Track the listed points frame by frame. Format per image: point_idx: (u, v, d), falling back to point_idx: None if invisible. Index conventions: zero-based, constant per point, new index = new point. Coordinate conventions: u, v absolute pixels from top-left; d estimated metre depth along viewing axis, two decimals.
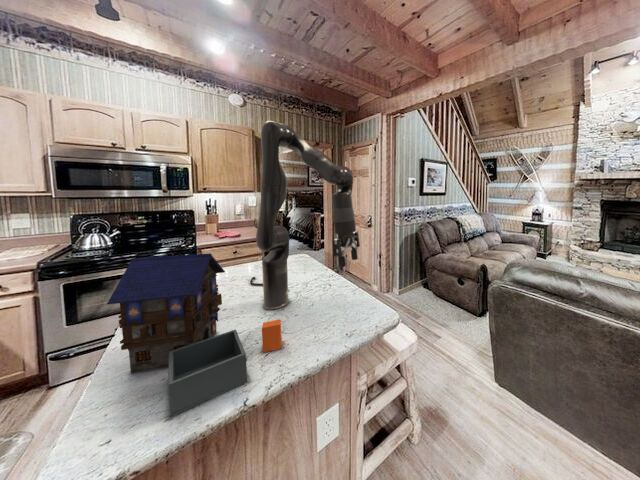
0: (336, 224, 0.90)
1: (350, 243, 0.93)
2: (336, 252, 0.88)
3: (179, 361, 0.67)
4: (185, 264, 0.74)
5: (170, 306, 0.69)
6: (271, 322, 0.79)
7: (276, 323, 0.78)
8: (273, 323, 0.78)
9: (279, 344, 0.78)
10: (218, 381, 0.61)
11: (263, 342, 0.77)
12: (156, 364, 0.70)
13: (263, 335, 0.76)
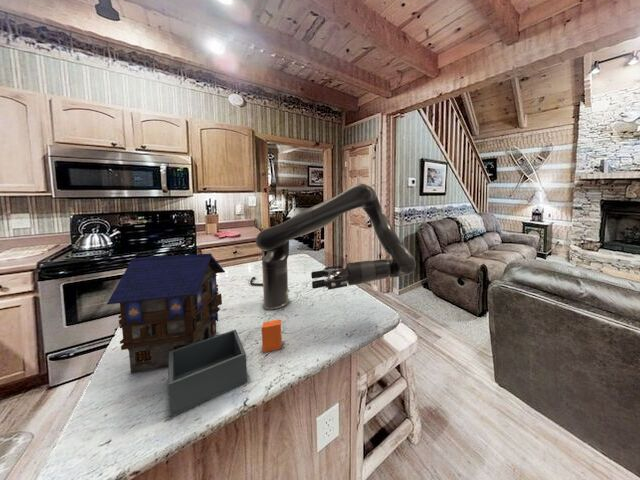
0: (359, 273, 0.84)
1: None
2: None
3: (179, 361, 0.67)
4: (185, 264, 0.74)
5: (170, 306, 0.69)
6: (271, 322, 0.79)
7: (276, 323, 0.78)
8: (273, 323, 0.78)
9: (279, 344, 0.78)
10: (218, 381, 0.61)
11: (263, 342, 0.77)
12: (156, 364, 0.70)
13: (263, 335, 0.76)
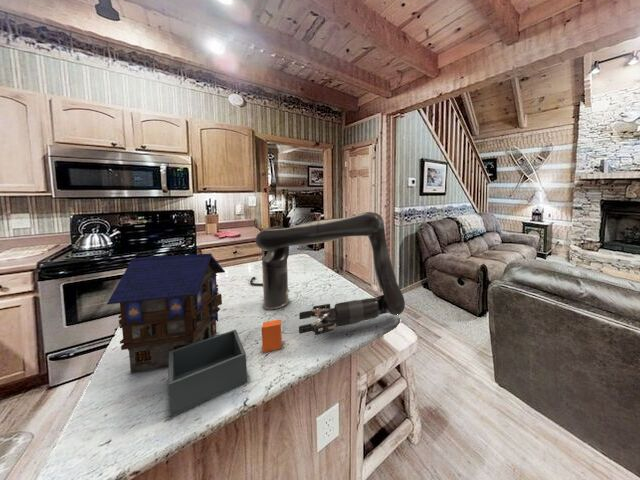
0: (347, 315, 0.84)
1: None
2: None
3: (179, 361, 0.67)
4: (185, 264, 0.74)
5: (170, 306, 0.69)
6: (271, 322, 0.79)
7: (276, 323, 0.78)
8: (273, 323, 0.78)
9: (279, 344, 0.78)
10: (218, 381, 0.61)
11: (263, 342, 0.77)
12: (156, 364, 0.70)
13: (263, 335, 0.76)
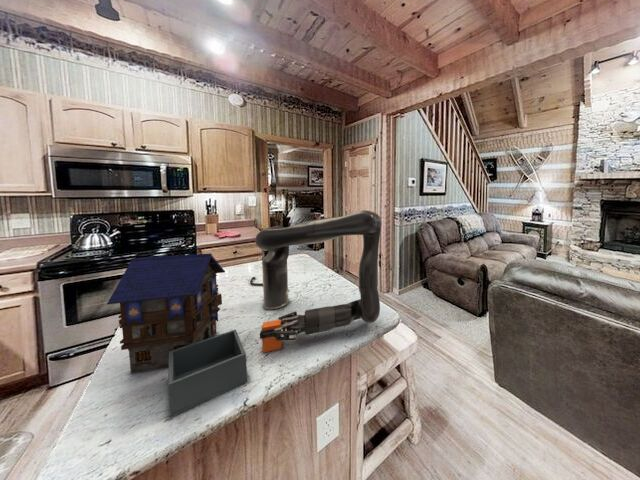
0: (317, 322, 0.80)
1: None
2: None
3: (179, 361, 0.67)
4: (185, 264, 0.74)
5: (170, 306, 0.69)
6: (271, 322, 0.79)
7: (276, 323, 0.78)
8: (273, 323, 0.78)
9: (279, 344, 0.78)
10: (218, 381, 0.61)
11: (263, 342, 0.77)
12: (156, 364, 0.70)
13: None
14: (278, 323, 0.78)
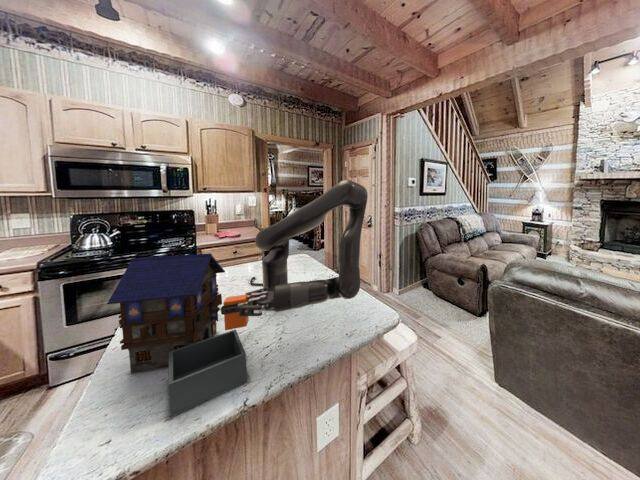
0: (287, 297, 0.72)
1: None
2: None
3: (179, 361, 0.67)
4: (185, 264, 0.74)
5: (170, 306, 0.69)
6: (235, 297, 0.70)
7: (241, 298, 0.70)
8: (238, 298, 0.70)
9: (244, 321, 0.70)
10: (218, 381, 0.61)
11: (225, 318, 0.68)
12: (156, 364, 0.70)
13: None
14: (243, 298, 0.70)
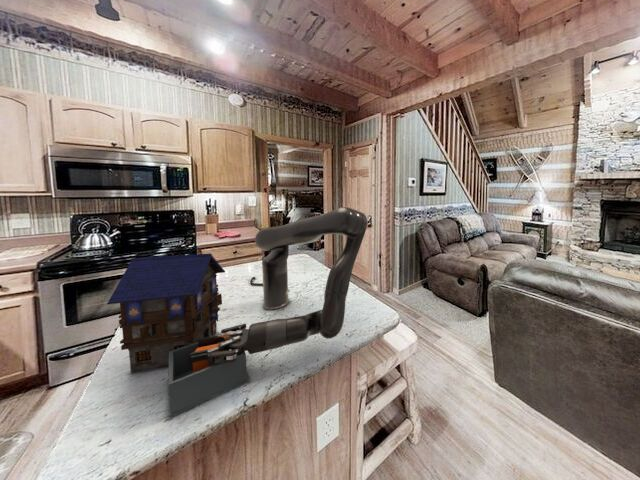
0: (262, 339, 0.67)
1: None
2: None
3: (179, 361, 0.67)
4: (185, 264, 0.74)
5: (170, 306, 0.69)
6: (206, 347, 0.66)
7: None
8: (208, 349, 0.65)
9: None
10: (218, 381, 0.61)
11: (194, 372, 0.63)
12: (156, 364, 0.70)
13: (194, 364, 0.63)
14: None
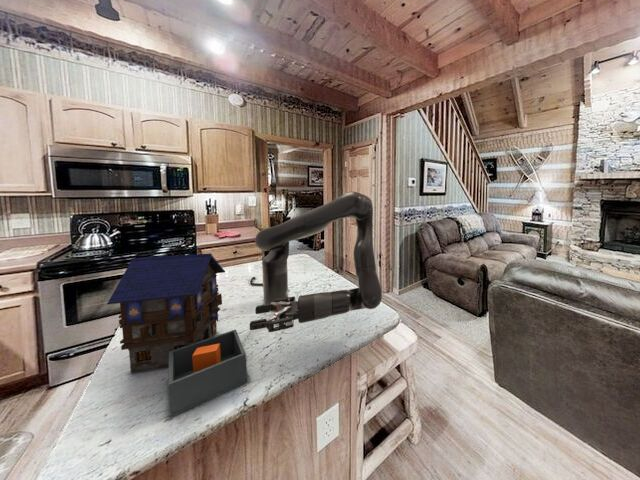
0: (311, 309, 0.72)
1: None
2: None
3: (179, 361, 0.67)
4: (185, 264, 0.74)
5: (170, 306, 0.69)
6: (206, 347, 0.66)
7: (212, 349, 0.65)
8: (208, 349, 0.65)
9: None
10: (218, 381, 0.61)
11: (194, 372, 0.63)
12: (156, 364, 0.70)
13: (194, 364, 0.63)
14: (214, 349, 0.65)
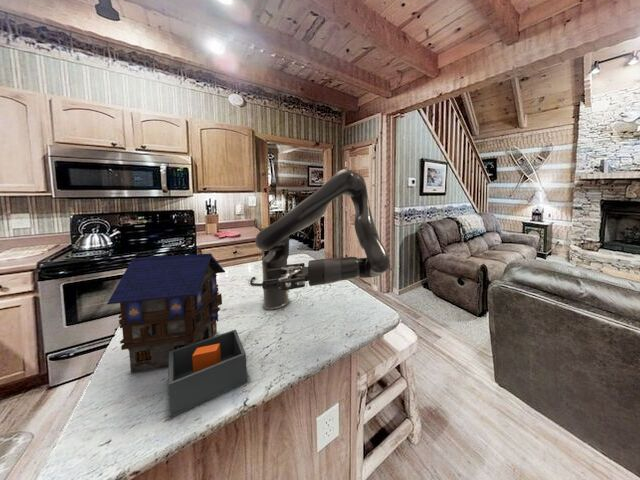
0: (322, 272, 0.73)
1: None
2: None
3: (179, 361, 0.67)
4: (185, 264, 0.74)
5: (170, 306, 0.69)
6: (206, 347, 0.66)
7: (212, 349, 0.65)
8: (208, 349, 0.65)
9: None
10: (218, 381, 0.61)
11: (194, 372, 0.63)
12: (156, 364, 0.70)
13: (194, 364, 0.63)
14: (214, 349, 0.65)
